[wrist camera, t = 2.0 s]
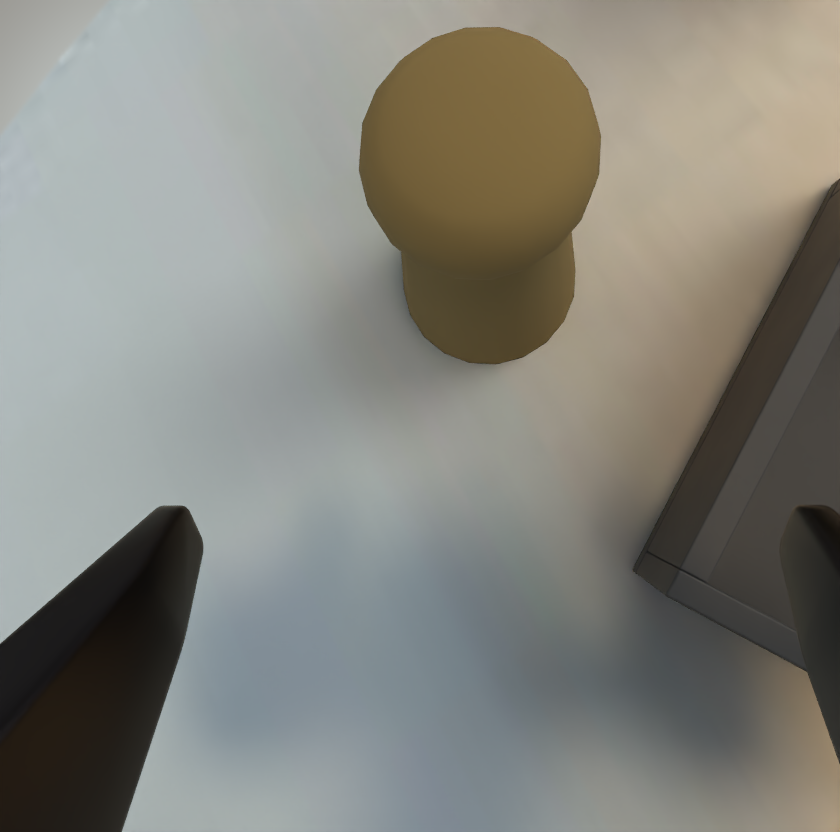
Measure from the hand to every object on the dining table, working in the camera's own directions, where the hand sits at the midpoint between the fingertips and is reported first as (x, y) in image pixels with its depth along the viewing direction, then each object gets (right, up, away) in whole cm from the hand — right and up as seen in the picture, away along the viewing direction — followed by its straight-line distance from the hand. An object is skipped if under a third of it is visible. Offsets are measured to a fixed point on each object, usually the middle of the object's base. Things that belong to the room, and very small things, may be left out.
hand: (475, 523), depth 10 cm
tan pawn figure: (+2, +6, +14) cm, 15 cm away
